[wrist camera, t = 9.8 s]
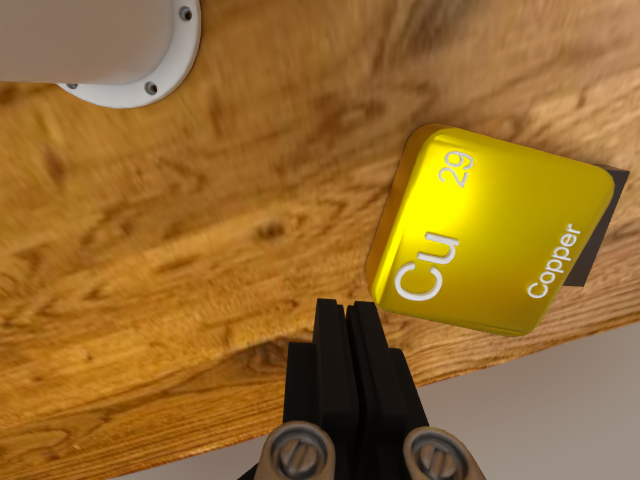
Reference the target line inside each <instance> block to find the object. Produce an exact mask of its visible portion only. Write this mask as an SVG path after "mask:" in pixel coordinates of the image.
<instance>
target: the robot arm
mask: <svg viewBox="0 0 640 480" xmlns="http://www.w3.org/2000/svg"><path fill="white" fill-rule="evenodd" d="M189 12H191V14H192V18H191V19H190V20H187V18H186V14H187V13H189ZM200 37H201V9H200V3H199V0H0V81H7V82H35V83H56V84H57V85H59V86H60V87H61V88H62V89H64V90H65V91H67V92H69V93H71V94H72V95H74V96H76V97H78V98H80V99H81V100H84V101H87V102H90V103H93V104H95V105H98V106H104V107H110V108H135V107H142V106H146V105H149V104H152V103H155V102H158V101H160V100H161V99H163V98H164V97H166V96H168V95H169V94H171V93H172V92H173V91H174V90H175V89H176V88H177V87H178V86H179V85H180V84H181V83H182V82H183V81H184V79H185V78H186V76H187V74H188V73H189V71H190V70H191V68H192V66H193V63H194V60H195V58H196V55H197V52H198V48H199V43H200ZM77 84H78V85H77ZM154 85H156V86H157V92H155V91H154V90H153V86H154ZM238 480H486V478H485V476H484V475H483V473H482V471H481V470H480V468H479V467H478V465H477V463H476V461H475V460H474V458H473V456H472V455H471V453H470V452H469V450H468V449H467V448H466V446H465V445H464V444H463V443H462V442H461V441H460V440H458V439H457V438H456V437H455V436H454V435H452V434H450V433H448V432H446V431H444V430H442V429H439V428H436V427H430V426H429V423H428V421H427V418H426V415H425V412H424V410H423V407H422V404H421V401H420V398H419V396H418V393H417V390H416V387H415V384H414V382H413V379H412V376H411V373H410V370H409V368H408V365H407V362H406V359H405V357H404V354H403V352H402V350H401V349H399V348H389V347H388V344H387V341H386V338H385V335H384V331H383V328H382V325H381V322H380V319H379V315H378V312H377V309H376V306H375V303H374V302H365V301H355V303H354V306H352V305H348V307H347V312H346V318H345V314H344V308H343V305H337V302H336V299H321V298H318V299H317V305H316V313H315V322H314V331H313V340H312V343H299V342H289V347H288V359H287V371H286V384H285V397H284V410H283V424H282V425H280V426H278V427H276V428H275V429H274V430H273V431H272V432H271V433H270V434H269V435H268V437H267V439H266V441H265V444H264V446H263V450H262V453H261V456H260V460H259V462H258V463H257V464H256V465H255V466H253V467H252V468H251V469H250V470H249V471H247V472H246V473H245V474H244V475H242V476H241V477H240V478H239V479H238Z"/></svg>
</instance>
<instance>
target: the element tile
mask: <svg viewBox="0 0 640 480" xmlns="http://www.w3.org/2000/svg"><path fill="white" fill-rule="evenodd" d="M614 187H615V184H614V181H613V177H612V176H611V175H610V174H609V173H608V172H607V171H606V170H604V169H602V168H600V167H598V166H594V165H591V164H587V163H584V162H580V161H576V160H573V159H569V158H566V157H562V156H558V155H555V154H551V153H548V152H544V151H540V150H537V149H533V148H530V147H526V146H522V145H519V144H515V143H511V142H508V141H504V140H501V139H497V138H493V137H490V136H486V135H483V134H479V133H475V132H472V131H468V130H465V129H461V128H457V127H453V126H449V125H445V124H441V123H432V124H426V125H423V126H421V127H420V128H418V129H416V130H415V131H414V133H413V134H412V135H411V136H410V138H409V139H408V141H407V143H406V145H405V148H404V151H403V154H402V157H401V160H400V163H399V166H398V169H397V172H396V175H395V178H394V181H393V184H392V187H391V190H390V193H389V196H388V199H387V202H386V205H385V208H384V211H383V214H382V217H381V220H380V223H379V226H378V229H377V232H376V235H375V238H374V241H373V244H372V246H371V249H370V252H369V255H368V258H367V261H366V266H365V276H366V280H367V284H368V287H369V291H370V294H371V298H372V299H373V301H374V303H375V304H376V305H377V306H378V307H380V308H381V309H383V310H385V311H387V312H392V313H397V314H401V315H406V316H411V317H416V318H420V319H425V320H430V321H435V322H439V323H444V324H449V325H454V326H458V327H463V328H468V329H473V330H477V331H482V332H487V333H492V334H496V335H501V336H506V337H519V336H524V335H527V334H528V333H530V332H531V331H533V330H534V329H535V328H536V327H537V326H538V325H539V324H540V322H541V321H542V319H543V318H544V316H545V314H546V312H547V311H548V309H549V307H550V306H551V304H552V302H553V300H554V299H555V297H556V295H557V293H558V292H559V290H560V288H561V287H562V285H563V283H564V281H565V280H566V278H567V276H568V275H569V273H570V271H571V269H572V268H573V266H574V264H575V262H576V261H577V259H578V257H579V256H580V254H581V252H582V250H583V249H584V247H585V245H586V244H587V242H588V240H589V238H590V237H591V235H592V233H593V231H594V230H595V228H596V226H597V225H598V223H599V221H600V219H601V218H602V216H603V214H604V212H605V211H606V209H607V207H608V206H609V204H610V202H611V199H612V197H613V193H614Z"/></svg>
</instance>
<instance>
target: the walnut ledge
mask: <svg viewBox="0 0 640 480" xmlns="http://www.w3.org/2000/svg"><path fill="white" fill-rule="evenodd" d="M591 165H594V166H598V167H600V168H602V169H604V170H606V171H607V172H608V173H609V174H610V175H611V176H612V177H613V181H614V184H615V187H614V193H613V197H612V199H611V202H610V204H609V206H608V207H607V209H606V211H605V212H604V214H603V216H602V218H601V219H600V221H599V223H598V225H597V226H596V228H595V230H594V231H593V233H592V235H591V237H590V238H589V240H588V242H587V244H586V245H585V247H584V249H583V250H582V252H581V254H580V256H579V257H578V259H577V261H576V262H575V264H574V266H573V268H572V269H571V271H570V273H569V275H568V276H567V278H566V280H565V281H564V283H563V285H562V286H580V287H584V285H585V283H586V280H587V278H588V275H589V273H590V270H591V268H592V265H593V263H594V260H595V258H596V255H597V253H598V250H599V248H600V245H601V243H602V240H603V238H604V235H605V233H606V230H607V228H608V225H609V223H610V220H611V218H612V215H613V213H614V210H615V208H616V205H617V203H618V200H619V198H620V195H621V193H622V190H623V188H624V185H625V183H626V180H627V178H628V175H629V173H630V171H627V170H623V169H619V168H615V167H611V166H606V165H595V164H591Z"/></svg>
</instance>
